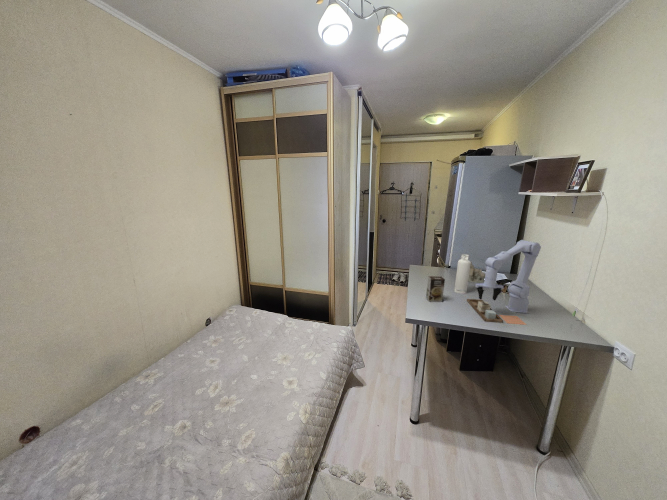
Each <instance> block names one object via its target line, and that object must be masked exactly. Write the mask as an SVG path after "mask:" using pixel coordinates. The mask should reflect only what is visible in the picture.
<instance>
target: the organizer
mask: <svg viewBox="0 0 667 500" xmlns="http://www.w3.org/2000/svg"><path fill="white" fill-rule="evenodd" d="M478 301H481V302H485V301H484V300H483V299H477V298H475V299H474V298H466V302H467V303H468V304H469V306H470V307H471V308H472V309H473V310H474V311H475V312H476V313H477V315H478V316H479V317H480V318H481V319H482V320H483V321H484V322H486V323H489V322H490V323H500V324H502V323H504V320H503V319H502V318H501V317H500V316H499V314H497V313H496V318H495V319H487V318H486V317H485V312H482V311H479V310H478V309H477V307H478ZM490 310H493V309H492V307H490Z"/></svg>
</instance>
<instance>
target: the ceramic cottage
mask: <svg viewBox="0 0 667 500" xmlns="http://www.w3.org/2000/svg"><path fill="white" fill-rule="evenodd" d="M470 262H471V265H470V271H469V278H468V283H476V282H477V283H478V284H480V283H484V279H485V274H486V272H483V269H479V268H475V267H474V265H473V263H472V261H470Z"/></svg>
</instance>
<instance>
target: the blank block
mask: <svg viewBox="0 0 667 500" xmlns="http://www.w3.org/2000/svg"><path fill="white" fill-rule="evenodd" d="M496 314H497V312H496V311H494V310H493V309H492V310H486V311H485V317H486V318H487V319H495V318H496Z"/></svg>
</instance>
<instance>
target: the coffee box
mask: <svg viewBox="0 0 667 500" xmlns="http://www.w3.org/2000/svg"><path fill="white" fill-rule="evenodd" d="M445 283H446V279H445V278H444V277H442V276H438V275H437V276H436V275H435V276H433V275H432V276H430V275H429V276H427V286H426V294H425V295H426V296H425V298H426V300H427V301H428V302H433V303H434V302H435V303H439V302H441V303H442V302H443V299H444V298H443V296H444V289H445Z"/></svg>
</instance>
